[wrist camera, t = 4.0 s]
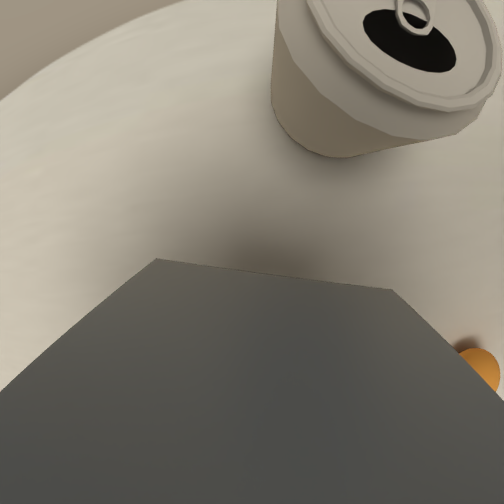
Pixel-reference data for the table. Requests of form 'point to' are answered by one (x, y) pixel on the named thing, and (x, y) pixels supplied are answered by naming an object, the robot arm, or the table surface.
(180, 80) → the table surface
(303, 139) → the can
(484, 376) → the ball
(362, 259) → the table surface
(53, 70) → the table surface
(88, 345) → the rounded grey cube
